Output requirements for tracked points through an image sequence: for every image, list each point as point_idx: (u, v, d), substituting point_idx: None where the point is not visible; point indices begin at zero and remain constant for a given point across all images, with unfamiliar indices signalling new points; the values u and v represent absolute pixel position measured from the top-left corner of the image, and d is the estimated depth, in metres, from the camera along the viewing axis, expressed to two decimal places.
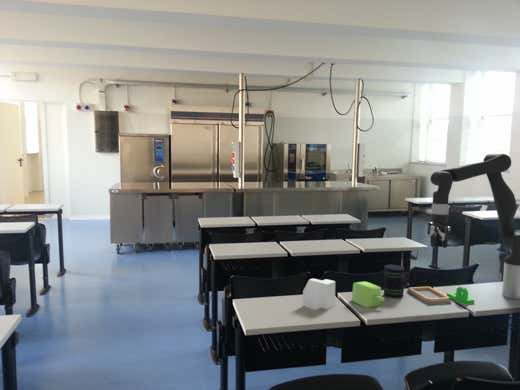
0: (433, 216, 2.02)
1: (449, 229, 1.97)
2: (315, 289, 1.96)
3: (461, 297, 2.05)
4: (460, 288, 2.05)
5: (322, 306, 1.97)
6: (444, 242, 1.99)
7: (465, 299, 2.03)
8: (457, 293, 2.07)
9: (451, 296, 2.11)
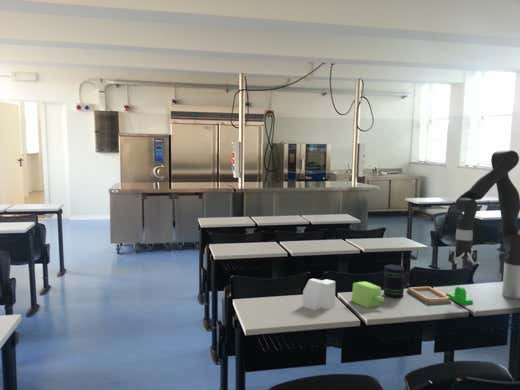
0: (469, 243, 2.03)
1: None
2: (315, 289, 1.96)
3: (459, 297, 2.05)
4: (458, 288, 2.05)
5: (322, 306, 1.97)
6: (472, 265, 2.08)
7: (463, 299, 2.03)
8: (455, 293, 2.07)
9: (450, 296, 2.12)
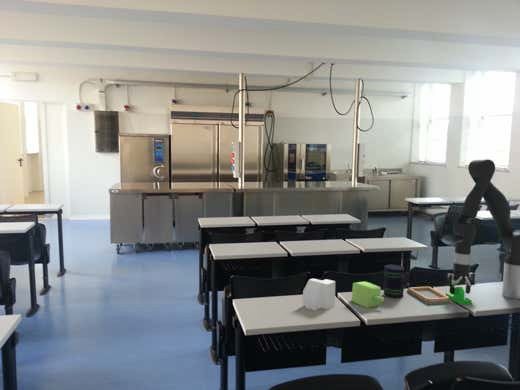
0: (466, 267, 2.05)
1: None
2: (315, 289, 1.96)
3: (458, 297, 2.05)
4: (457, 288, 2.05)
5: (322, 306, 1.97)
6: (469, 288, 2.10)
7: (461, 299, 2.03)
8: (454, 293, 2.08)
9: (449, 296, 2.12)
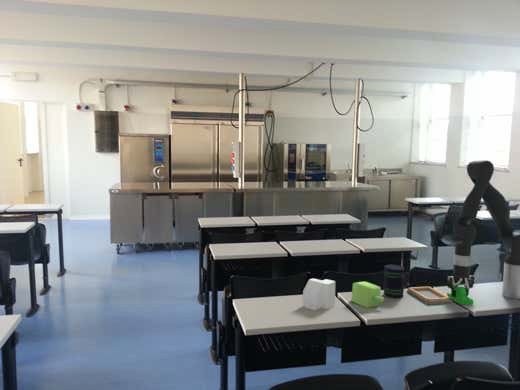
0: (466, 268, 2.04)
1: None
2: (315, 289, 1.96)
3: (459, 297, 2.05)
4: (458, 288, 2.05)
5: (322, 306, 1.97)
6: (468, 291, 2.09)
7: (463, 299, 2.03)
8: (456, 293, 2.07)
9: (451, 296, 2.11)
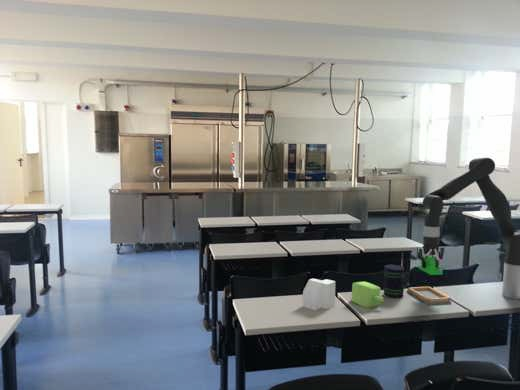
0: (435, 239, 2.06)
1: None
2: (315, 289, 1.96)
3: (429, 267, 2.07)
4: (428, 258, 2.07)
5: (322, 306, 1.97)
6: (438, 262, 2.11)
7: (432, 269, 2.05)
8: (426, 264, 2.09)
9: (421, 267, 2.14)
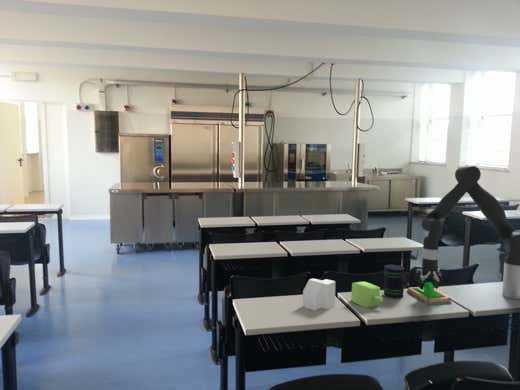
0: (434, 262, 2.08)
1: None
2: (315, 289, 1.96)
3: (427, 292, 2.08)
4: (427, 283, 2.08)
5: (322, 306, 1.97)
6: (438, 283, 2.12)
7: (431, 294, 2.06)
8: (424, 288, 2.11)
9: (420, 291, 2.15)
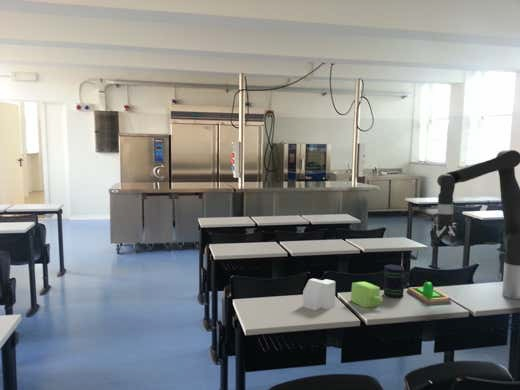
0: (450, 216, 2.14)
1: None
2: (315, 289, 1.96)
3: (427, 292, 2.08)
4: (426, 283, 2.09)
5: (322, 306, 1.97)
6: (453, 238, 2.19)
7: (430, 294, 2.06)
8: (424, 288, 2.11)
9: (419, 291, 2.15)
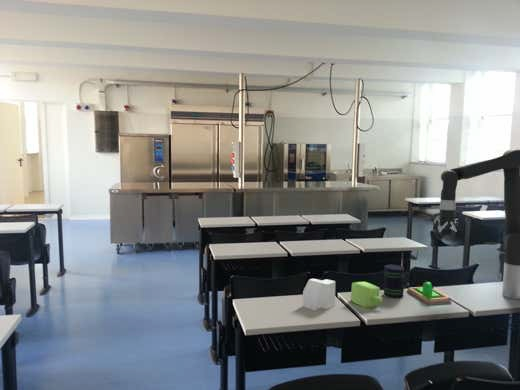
0: (452, 212, 2.16)
1: None
2: (315, 289, 1.96)
3: (426, 292, 2.08)
4: (425, 283, 2.09)
5: (322, 306, 1.97)
6: (455, 233, 2.21)
7: (429, 294, 2.06)
8: (423, 288, 2.11)
9: (419, 291, 2.15)
